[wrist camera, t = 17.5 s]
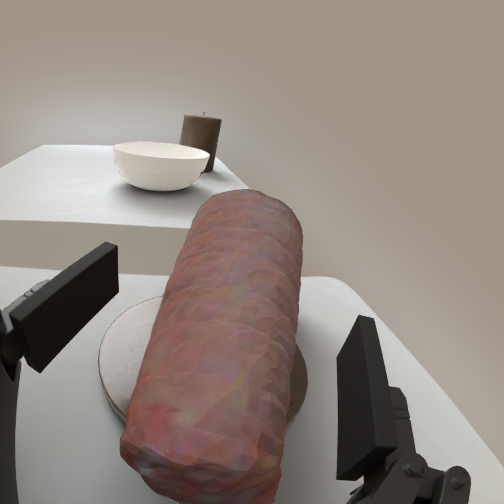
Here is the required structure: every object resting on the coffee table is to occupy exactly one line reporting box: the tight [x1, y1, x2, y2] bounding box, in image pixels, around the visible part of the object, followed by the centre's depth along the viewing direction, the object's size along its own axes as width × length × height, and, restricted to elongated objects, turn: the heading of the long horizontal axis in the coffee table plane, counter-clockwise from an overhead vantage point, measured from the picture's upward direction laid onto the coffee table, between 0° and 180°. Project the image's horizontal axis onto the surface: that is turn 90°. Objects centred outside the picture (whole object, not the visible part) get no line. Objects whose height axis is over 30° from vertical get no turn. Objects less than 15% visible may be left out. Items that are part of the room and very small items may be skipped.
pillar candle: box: [179, 113, 222, 172], centre depth 70 cm, size 10×10×15 cm
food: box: [120, 189, 303, 504], centre depth 16 cm, size 21×9×9 cm, turn 0°
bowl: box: [114, 142, 210, 191], centre depth 52 cm, size 18×18×7 cm
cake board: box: [98, 296, 308, 429], centre depth 18 cm, size 14×14×1 cm
